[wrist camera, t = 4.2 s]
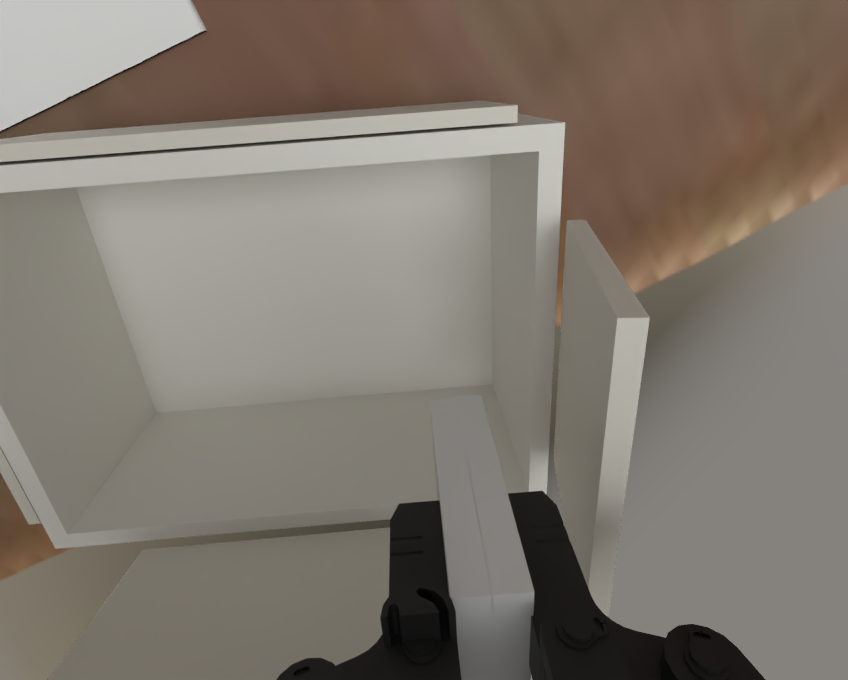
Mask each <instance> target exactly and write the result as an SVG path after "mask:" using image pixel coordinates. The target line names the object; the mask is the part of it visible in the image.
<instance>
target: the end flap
mask: <svg viewBox="0 0 848 680" xmlns="http://www.w3.org/2000/svg"><path fill="white" fill-rule="evenodd" d="M649 319H650V318H649V316H648V314H647V313H646V311H645V310H644V308H643V307H642V305H641V304H640V302H639V301H638V299H637V298H636V296H635V294H634V293H633V291H632V290H631V288H630V287H629V285H628V284H627V282H626V281H625V279H624V278H623V276H622V275H621V273H620V272H619V270H618V269H617V267H616V266H615V264H614V262H613V261H612V259H611V258H610V256H609V255H608V253H607V252H606V250H605V249H604V247H603V246H602V244H601V243H600V241H599V240H598V238H597V237H596V235H595V233H594V232H593V230H592V229H591V227H590V226H589V224H588V223H587V221H586V220H567V224H566V242H565V260H564V278H563V297H562V315H561V333H560V351H559V369H558V387H557V405H556V424H555V442H554V464H555V471H556V477H557V483H558V490H559V496H560V503H561V509H562V516H563V522H564V527H565V529H566V531H567V534H568V536H569V541H570V542H571V544H572V547H573V549H574V552H575V555H576V557H577V560H578V563H579V565H580V568H581V570H582V573H583V576H584V578H585V581H586V583H587V586H588V589H589V591H590V594H591V596H592V598H593V600H594V602H595V604H596V605H597V606H598V608H599V609H600V610H601V611H602V612H603V613H604V614H605V615H606V616H607V617H608V615H609V608H610V601H611V593H612V586H613V579H614V572H615V564H616V557H617V550H618V543H619V536H620V528H621V521H622V513H623V507H624V500H625V492H626V485H627V478H628V471H629V464H630V455H631V449H632V442H633V435H634V427H635V420H636V412H637V405H638V399H639V391H640V384H641V376H642V369H643V361H644V354H645V348H646V340H647V333H648V326H649Z"/></svg>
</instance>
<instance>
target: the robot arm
mask: <svg viewBox="0 0 848 680" xmlns="http://www.w3.org/2000/svg"><path fill="white" fill-rule="evenodd" d="M430 409H431V423H432V438H433V453H434V467H435V479H436V490H437V501H424V502H412V503H400V504H398V506H397V508H396V510H395V512H394V514H393V516H392V518H391V520H390V560H389V597H388V598H387V600H386V601H385V603H384V604H383V608H382V612H381V616H380V620H381V627H382V635H381V637H380V638H379V640H378V641H377V642H376V643H375V644H374V645H373V646H372V647H371V648H370V649H369V650H367V651H366V652H364V653H362V654H360V655H359V656H357V657H354V658H352V659H350V660H347V661H345V662H343V663H340V664H338V665H336V666H335V664H334V663H333V662H330V661H328V660H325V659H323V658H306V659H303V660H301V661H299V662H296V663H294V664H292V665H291V666H289V667H288V668H287V669H286V670H285V671H284V672H282V673H281V674H280V675H279V676H278V678H277V680H530V679H531V675H532V679H533V680H765V679H764V678H763V676H762V675H761V674H760V673H759V672H758V671H757V670H756V668H755V667H754V666H753V665H752V664H751V663H750V662H749V660H748V659H747V658H746V657H745V656H744V655H743V654H742V652H741V651H740V650H739V649H738V648H737V647H736V646H735V645H734V644H733V643H731V642H730V641H729V640H728V639H727V638H726V637H725V636H723V635H721V634H719V633H717V632H715V631H714V630H712V629H710V628H708V627H703V626H699V625H694V624H688V625H681V626H677V627H676V628H674V629H673V630H672V631H670V632H669V633H668V635H667V637H666V638H664V637H660V636H655V635H651V634H646V633H642V632H638V631H634V630H631V629H628V628H625V627H623V626H621V625H619V624H617V623H615V622H614V621H612V620H611V619H610V618H608V617H607V616H606V615H605V614H604V613H603V612H602V611H601V610H600V609H599V608H598V606H597V605H596V604H595V602H594V600H593V598H592V596H591V594H590V591H589V589H588V586H587V583H586V581H585V578H584V576H583V573H582V570H581V568H580V565H579V563H578V560H577V557H576V555H575V552H574V549H573V547H572V544H571V542H570V541H569V536H568V534H567V531H566V529H565V527H564V525H563V521H562V518H561V515H560V513H559V510H558V508H557V505H556V504H555V503H554V502H553V501H552V500H551V499H550V498H549V497H548V496H547V495H546V494H545V493H544V492H543V491H532V492H520V493H507V489H506V485H505V482H504V478H503V474H502V471H501V467H500V463H499V460H498V456H497V452H496V449H495V445H494V441H493V438H492V434H491V430H490V427H489V423H488V419H487V416H486V412H485V408H484V405H483V401H482V397H481V395H475V396H463V397H450V398H437V399H430Z"/></svg>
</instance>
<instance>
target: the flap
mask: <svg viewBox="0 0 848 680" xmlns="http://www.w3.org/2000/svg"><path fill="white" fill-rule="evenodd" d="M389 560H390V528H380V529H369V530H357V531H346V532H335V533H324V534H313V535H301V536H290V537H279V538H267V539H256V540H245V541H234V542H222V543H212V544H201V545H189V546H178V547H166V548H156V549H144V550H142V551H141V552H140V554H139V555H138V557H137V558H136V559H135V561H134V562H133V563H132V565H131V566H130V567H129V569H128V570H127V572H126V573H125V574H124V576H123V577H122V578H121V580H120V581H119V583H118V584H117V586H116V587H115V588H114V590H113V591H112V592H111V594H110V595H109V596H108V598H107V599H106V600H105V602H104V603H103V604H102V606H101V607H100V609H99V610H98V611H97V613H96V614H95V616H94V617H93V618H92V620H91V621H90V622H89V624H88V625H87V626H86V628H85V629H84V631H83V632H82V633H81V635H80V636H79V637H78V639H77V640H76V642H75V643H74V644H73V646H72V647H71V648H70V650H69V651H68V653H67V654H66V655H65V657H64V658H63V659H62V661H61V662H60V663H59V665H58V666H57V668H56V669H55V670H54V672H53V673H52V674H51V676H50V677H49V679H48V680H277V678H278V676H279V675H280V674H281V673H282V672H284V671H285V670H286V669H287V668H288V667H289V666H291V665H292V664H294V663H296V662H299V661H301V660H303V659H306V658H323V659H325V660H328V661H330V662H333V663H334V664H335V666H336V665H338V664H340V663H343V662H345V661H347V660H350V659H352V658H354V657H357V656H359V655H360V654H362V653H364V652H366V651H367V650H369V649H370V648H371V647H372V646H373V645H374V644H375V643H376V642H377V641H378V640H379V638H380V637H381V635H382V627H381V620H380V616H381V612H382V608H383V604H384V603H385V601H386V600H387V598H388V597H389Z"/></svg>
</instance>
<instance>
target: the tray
mask: <svg viewBox="0 0 848 680" xmlns="http://www.w3.org/2000/svg"><path fill="white" fill-rule="evenodd" d="M205 30H206V28H205V26H204V24H203V22H202V20H201V18H200V16H199V14H198V12H197V10H196V8H195V6H194V4H193V2H192V0H0V131H1V130H4V129H5V128H8V127H10V126H12V125H14V124H16V123H18V122H20V121H22V120H24V119H25V118H28V117H31V116H33V115H34V114H36V113H39V112H40V111H43V110H45V109H47V108H49V107H51V106H53V105H55V104H57V103H59V102H61V101H63V100H65V99H66V98H68V97H69V96H73V95H74V94H77V93H79V92H81V91H82V90H86V89H87V88H89V87H91V86H93V85H95V84H97V83H100V82H101V81H103V80H105V79H107V78H109V77H111V76H113V75H114V74H117V73H119V72H121V71H123V70H125V69H127V68H130V67H132V66H134V65H136V64H138V63H141V62H142V61H144V60H145V59H148V58H150V57H152V56H154V55H156V54H157V53H159V52H162V51H164V50H166V49H168V48H170V47H171V46H174V45H176V44H178V43H180V42H182V41H184V40H186V39H188V38H190V37H192V36H194V35H196V34H198V33H200V32H202V31H205ZM206 31H207V30H206Z"/></svg>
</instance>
